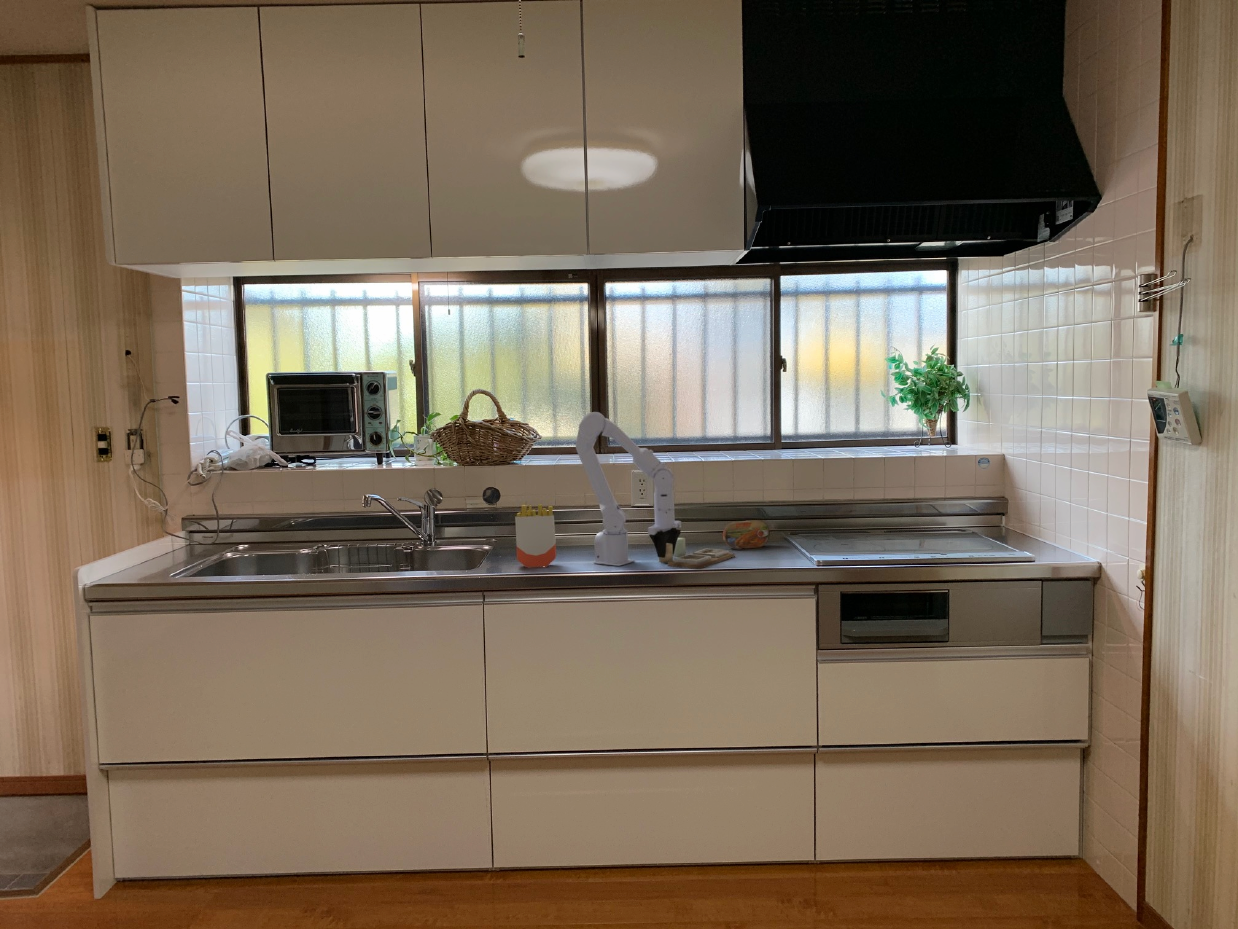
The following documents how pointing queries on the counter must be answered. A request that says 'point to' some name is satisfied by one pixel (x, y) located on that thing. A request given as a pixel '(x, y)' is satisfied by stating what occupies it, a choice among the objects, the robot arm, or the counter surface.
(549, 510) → the french fries container
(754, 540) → the tin
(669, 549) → the ash peg
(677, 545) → the sage peg
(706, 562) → the board
